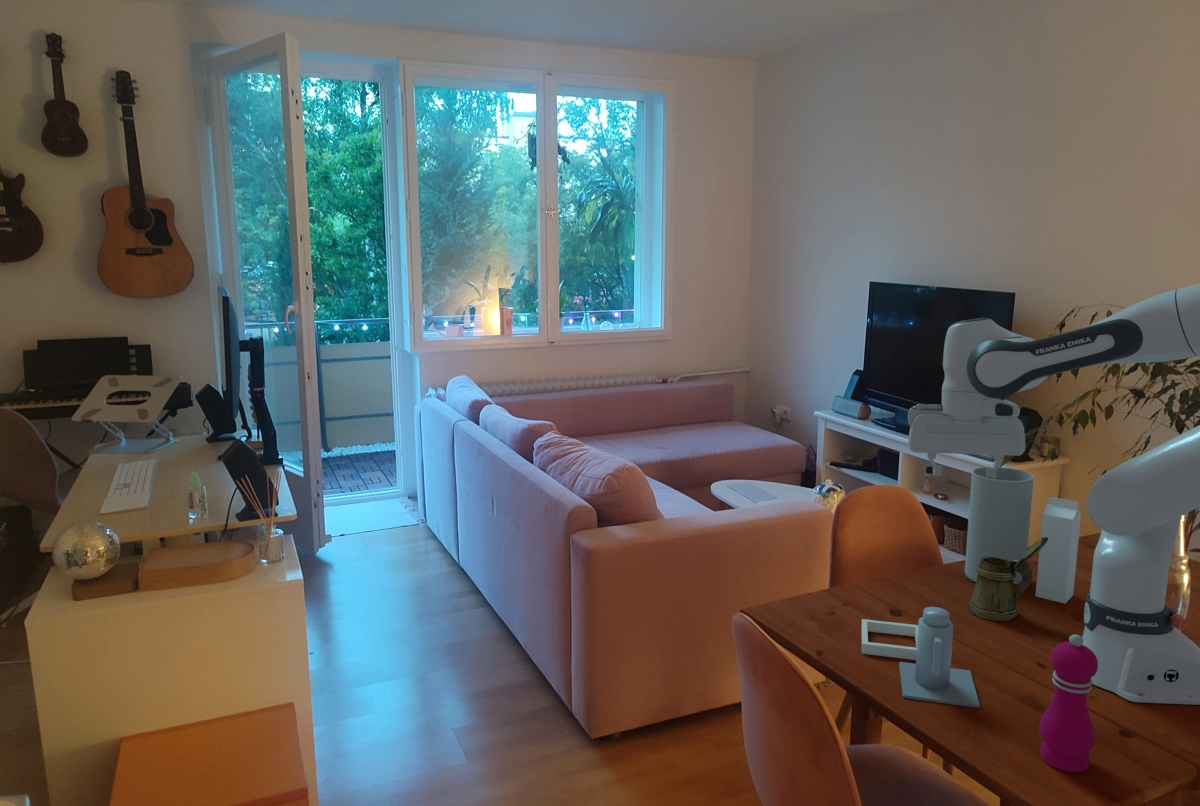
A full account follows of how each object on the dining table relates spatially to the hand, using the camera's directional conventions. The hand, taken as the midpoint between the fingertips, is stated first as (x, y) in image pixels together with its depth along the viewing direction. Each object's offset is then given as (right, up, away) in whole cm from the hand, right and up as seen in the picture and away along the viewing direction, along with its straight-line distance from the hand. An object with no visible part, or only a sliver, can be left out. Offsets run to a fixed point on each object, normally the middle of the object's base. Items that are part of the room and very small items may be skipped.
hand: (963, 476), depth 158 cm
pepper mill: (0, -39, -34) cm, 52 cm away
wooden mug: (+15, -30, +14) cm, 37 cm away
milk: (+30, -28, +23) cm, 47 cm away
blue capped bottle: (-12, -35, -14) cm, 39 cm away
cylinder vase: (+21, -27, +33) cm, 48 cm away
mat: (-10, -35, -13) cm, 39 cm away
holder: (-13, -33, +2) cm, 35 cm away
